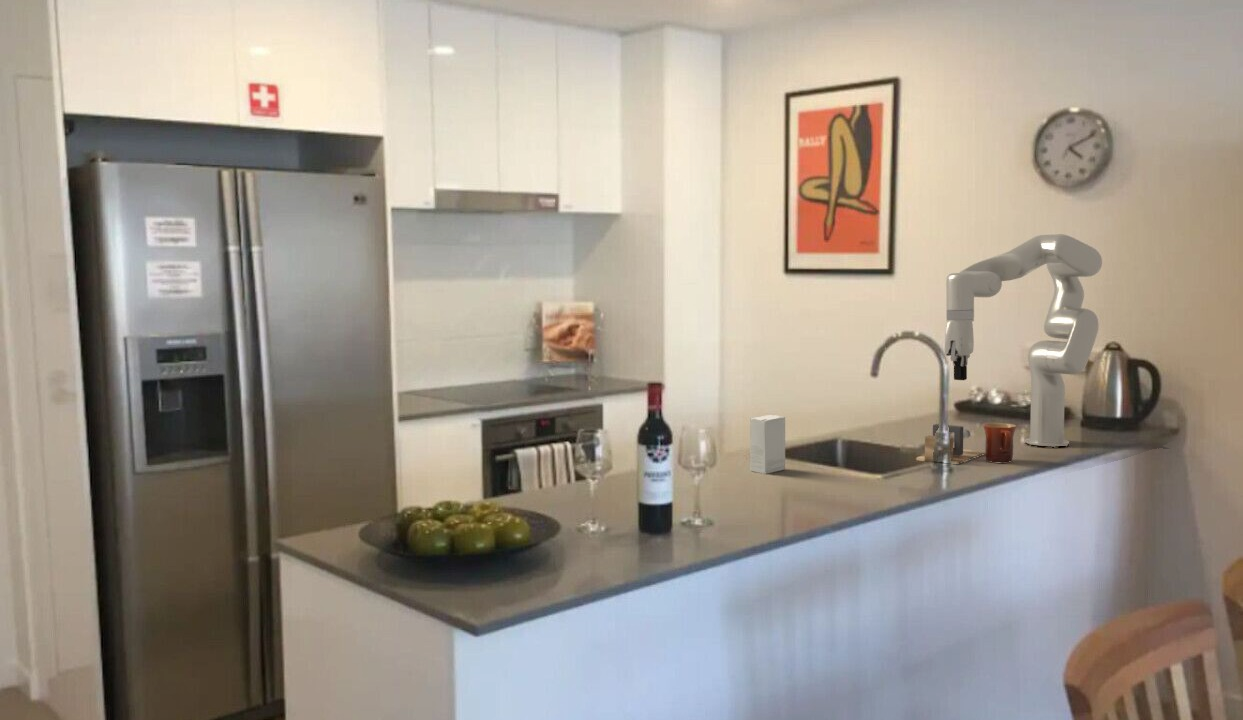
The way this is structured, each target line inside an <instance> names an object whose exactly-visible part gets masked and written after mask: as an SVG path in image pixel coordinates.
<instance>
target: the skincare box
mask: <svg viewBox="0 0 1243 720" xmlns="http://www.w3.org/2000/svg"><path fill="white" fill-rule="evenodd" d="M749 426H750V429H749V430H750V431H749V432H750V433H749V435H750V436H749V438H750V439H749V441H750V442H749V448H750V449H749V451H750V454H749V456H750V457H749V458H750V463H749V464H750V465H749V466H750V469H749V470H750V471H751V472H754V473H758V474H763V475H766V474H771V473H776V472H781V471H784V470H786V417H785V416H781V415H775V414H766V415H761V416H757V417H750V420H749Z"/></svg>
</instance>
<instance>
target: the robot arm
mask: <svg viewBox="0 0 1243 720" xmlns="http://www.w3.org/2000/svg"><path fill="white" fill-rule="evenodd" d="M1044 265H1046V268H1047V271H1048V273H1049V275H1050V276H1051V279H1052V281H1053V285H1054V292H1053V296H1052V300H1051V301H1050V304H1049V308H1048V310H1047V314H1046V317H1045V321H1044V325H1043V330H1044V333H1045V334H1046V335H1047V336H1048V337H1050V338H1054V339H1058V340H1061V339H1062V340H1067V341H1058V340H1040V341H1038V342H1034V343H1033V344H1032V345H1031V346H1030V347H1029V351H1028V354H1027V361H1028V366H1029V371H1030V421H1029V422H1030V426H1029V428H1030V429H1029V431H1030V432H1029V435H1030V436H1029V437H1028V438H1025V439H1024V443H1025V442H1027V443H1030V444H1034V445H1047V446H1048V445H1050V446H1052V445H1053V446H1056V445H1065V444H1069V445H1070V441H1069V440H1066V439H1064V436H1065V402H1066V399H1065V398H1066V397H1065V394H1066V387H1065V382H1064V379H1063V377H1062V375H1070V376H1072V375H1078V374H1080V373H1081V372H1083V371H1084V370H1085V368H1086V366H1087V364H1088V362H1089V359H1090V357H1091V353H1092V351H1093V348H1094V345H1095V342H1096V339H1097V335H1098V332H1099V319H1098V317H1097V315H1096V313H1095V312H1094V311H1093V310H1091V309H1090V308H1085V307H1084V308H1083V307H1082V306H1083V302H1084V297H1085V290H1084V287H1083V285H1082V282H1081V281H1080V279H1079V277H1080V278H1082V277H1083V278H1084V277H1086V278H1087V277H1089V278H1090V277H1092V276H1095V275H1097V274H1098V273H1099V272H1100V270H1101V269H1102V265H1103V259H1102V256H1101V253H1100V252H1099V251H1098V250H1097V249H1096V248H1095V247H1093V246H1090V245H1088V244H1087V243H1085V242H1082V241H1081V240H1079V239H1076V238H1074V237H1072V236H1069V235H1066V234H1041V235H1037V236H1034V237H1032V238H1030V239H1029V240H1027V241H1025V242H1023V243H1021V244H1019V245H1018V246H1016V247H1014V248H1012V249H1011V250H1009V251H1006V252H1003V253H1001V254H997V255H995V256H993V257H990V258H986V259H984V260H981V261H978V262H976V263H973V264H972V265H969V266H968V267H966V268H964V269H963V270H961V271H959V272H953V273H949V274H947V276H946V325H945V326H946V327H945V335H944V336H945V337H944V355H945V356H947V357H950V361H952V366H953V380H954V381H967V379H968V377H967V376H968V362H969V361H968V360H969V358H970V357H971V356H970V355H972V354H973V352H974V346H975V345H974V343H975V341H974V325H973V322H974V321H975V298H991V297H992V298H993V297H994V296H996V295H997V294H998V293H999V292H1000V291H1001V290H1002V287H1003V282H1007V281H1012V280H1018V279H1020V278H1023V277H1026V275H1028V274H1030V273H1032V272H1033V271H1035V270H1037V269H1039V268H1040V267H1042V266H1044Z"/></svg>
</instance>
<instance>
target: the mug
mask: <svg viewBox="0 0 1243 720" xmlns="http://www.w3.org/2000/svg"><path fill="white" fill-rule="evenodd" d="M982 427H983V429H984V435H985V444H984V452H985V455H984V456H985V460H986V461H987V460H988V461H987V462H989V461H992V462H1009V461H1011V462H1012V461H1013V458H1014V434H1015V432H1016V429H1017V425H1016V424H1013V423H1005V422H1004V423H1003V422H988V423H987V422H986V423H984V424H983V425H982ZM992 462H991V463H992ZM1009 463H1010V462H1009Z"/></svg>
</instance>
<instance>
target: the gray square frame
mask: <svg viewBox="0 0 1243 720" xmlns="http://www.w3.org/2000/svg"><path fill="white" fill-rule="evenodd" d="M947 425H948V427H949V432H948V433H952V434H953V433H954V442H953V455H958V456H960V455H963V449H964V439H963V430H964V425H963V426H962V425H951V424H950V425H949V424H947ZM938 428H939V423H936V424H932V436H935V433H936V431H937V430H938Z"/></svg>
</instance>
